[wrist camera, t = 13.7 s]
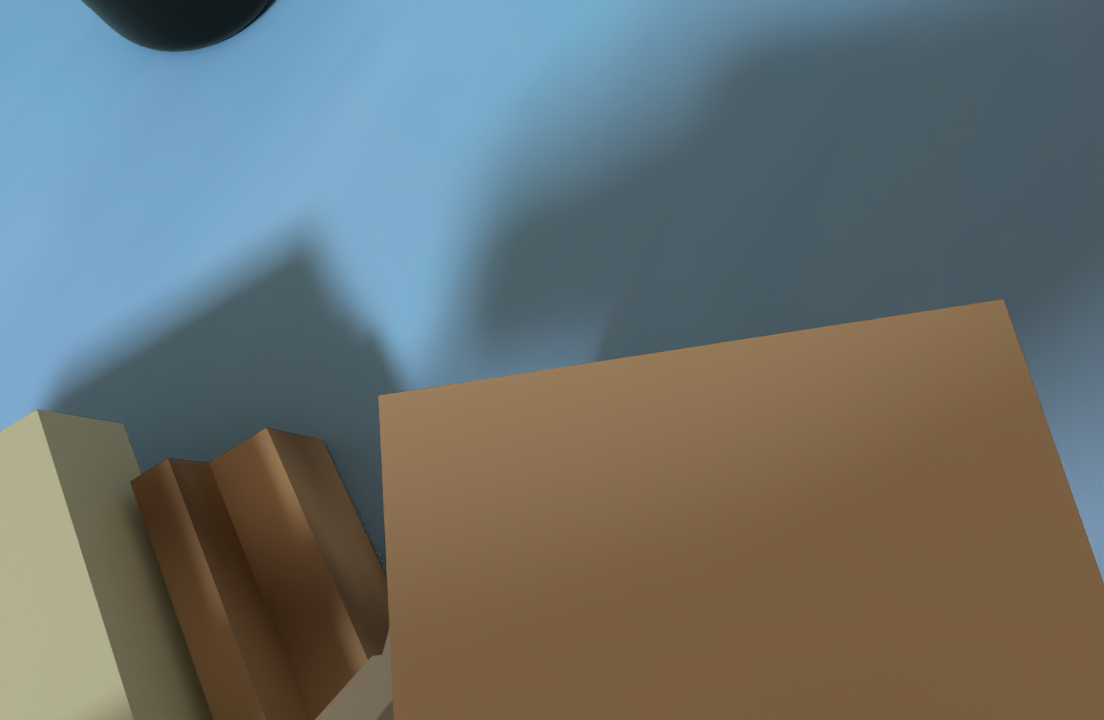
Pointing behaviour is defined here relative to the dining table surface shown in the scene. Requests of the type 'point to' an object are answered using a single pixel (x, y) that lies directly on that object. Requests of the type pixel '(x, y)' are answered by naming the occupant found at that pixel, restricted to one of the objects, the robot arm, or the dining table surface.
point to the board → (266, 574)
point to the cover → (83, 583)
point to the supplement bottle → (177, 20)
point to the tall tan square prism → (744, 535)
